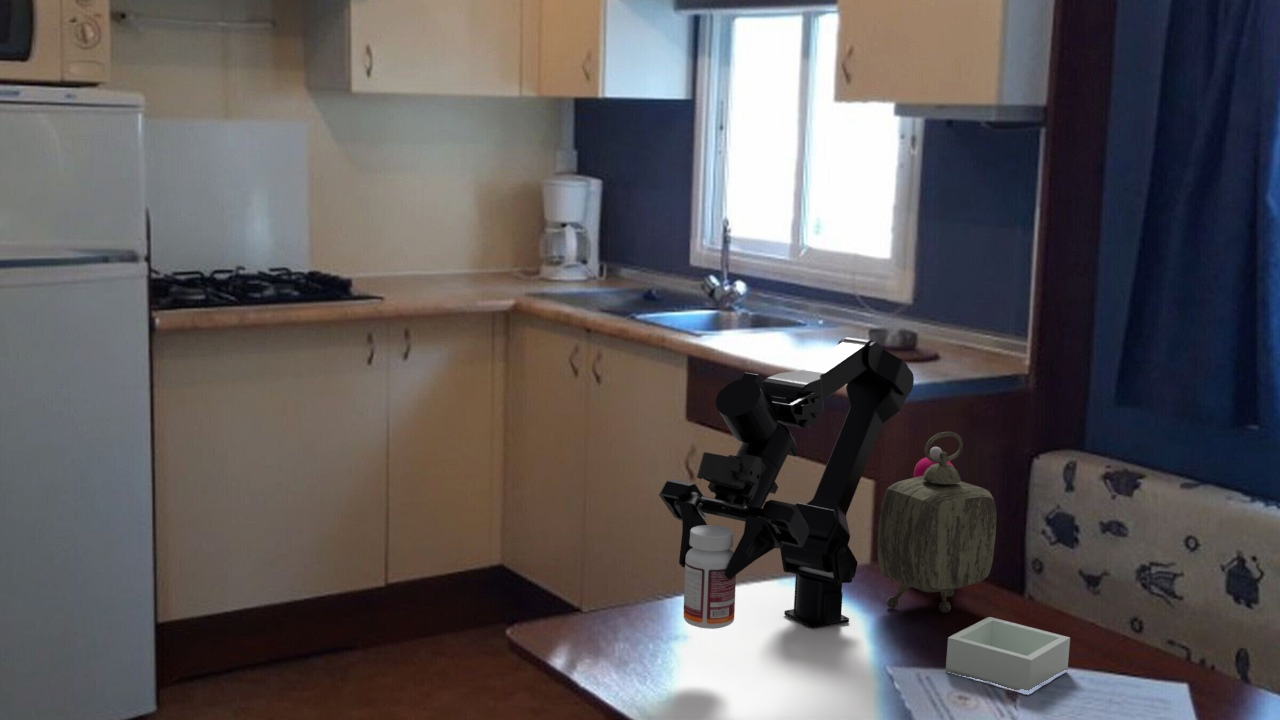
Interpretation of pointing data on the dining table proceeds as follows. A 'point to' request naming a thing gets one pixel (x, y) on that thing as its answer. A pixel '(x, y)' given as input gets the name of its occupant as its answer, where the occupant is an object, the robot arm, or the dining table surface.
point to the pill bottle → (709, 578)
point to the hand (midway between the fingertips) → (704, 571)
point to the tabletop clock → (936, 530)
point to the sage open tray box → (1007, 654)
